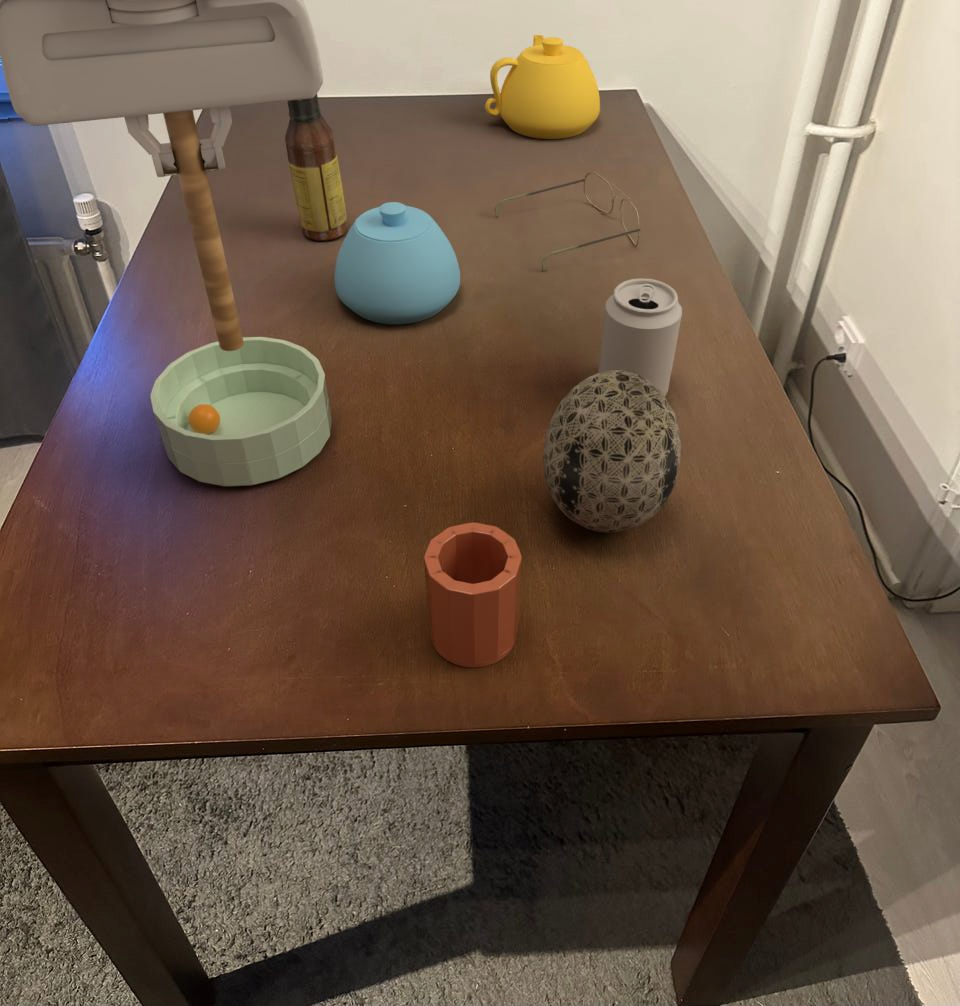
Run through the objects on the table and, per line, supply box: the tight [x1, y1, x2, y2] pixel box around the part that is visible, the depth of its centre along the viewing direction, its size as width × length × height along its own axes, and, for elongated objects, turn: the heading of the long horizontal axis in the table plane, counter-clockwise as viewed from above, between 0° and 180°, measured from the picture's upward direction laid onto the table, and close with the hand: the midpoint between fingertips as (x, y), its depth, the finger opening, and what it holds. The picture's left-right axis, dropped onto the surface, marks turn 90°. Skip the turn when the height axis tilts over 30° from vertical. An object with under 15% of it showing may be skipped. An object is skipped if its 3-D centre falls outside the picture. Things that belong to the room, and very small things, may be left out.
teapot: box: [484, 34, 601, 140], centre depth 144 cm, size 20×19×13 cm
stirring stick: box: [162, 110, 244, 351], centre depth 68 cm, size 2×2×20 cm
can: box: [597, 277, 683, 397], centre depth 90 cm, size 8×8×12 cm
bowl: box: [149, 336, 333, 487], centre depth 87 cm, size 16×16×6 cm
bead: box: [188, 404, 220, 434], centre depth 88 cm, size 3×3×3 cm
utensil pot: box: [423, 522, 523, 668], centre depth 69 cm, size 7×7×9 cm
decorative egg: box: [542, 370, 682, 534], centre depth 76 cm, size 12×12×15 cm
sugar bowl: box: [333, 201, 461, 325], centre depth 104 cm, size 15×15×12 cm
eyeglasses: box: [494, 171, 641, 272], centre depth 118 cm, size 16×15×5 cm
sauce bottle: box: [284, 93, 348, 242], centre depth 113 cm, size 7×6×20 cm
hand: (192, 170), depth 65 cm, fingers closed on stirring stick, 2 cm apart
